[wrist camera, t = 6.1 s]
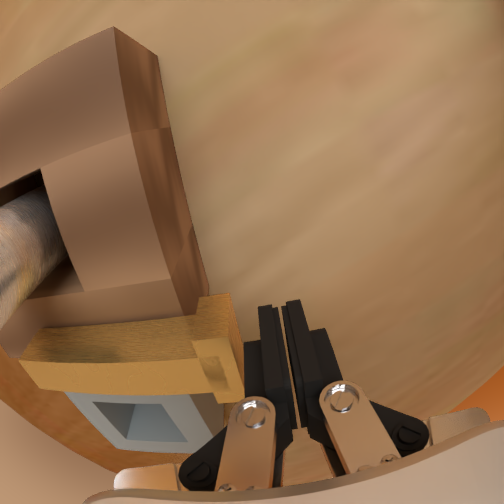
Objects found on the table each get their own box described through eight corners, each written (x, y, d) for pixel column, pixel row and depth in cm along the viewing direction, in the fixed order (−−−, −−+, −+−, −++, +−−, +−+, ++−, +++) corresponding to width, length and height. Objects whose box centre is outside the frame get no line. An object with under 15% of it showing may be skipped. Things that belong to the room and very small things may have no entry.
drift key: (32, 316, 11) (9, 347, 9) (229, 292, 11) (227, 336, 9) (64, 366, 13) (48, 398, 11) (246, 357, 13) (247, 400, 10)
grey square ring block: (78, 335, 20) (54, 379, 15) (191, 326, 20) (181, 381, 15) (128, 408, 24) (117, 448, 20) (224, 406, 24) (223, 452, 19)
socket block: (-14, 139, 13) (-73, 158, 7) (157, 56, 12) (113, 26, 7) (45, 307, 19) (9, 357, 13) (209, 286, 18) (199, 354, 13)
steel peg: (45, 182, 15) (-100, 275, 4) (93, 164, 14) (-74, 258, 4) (63, 239, 16) (-52, 364, 6) (112, 227, 16) (-9, 374, 5)
